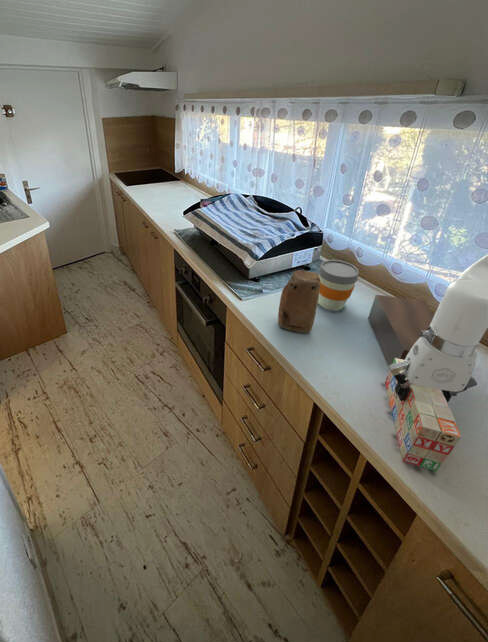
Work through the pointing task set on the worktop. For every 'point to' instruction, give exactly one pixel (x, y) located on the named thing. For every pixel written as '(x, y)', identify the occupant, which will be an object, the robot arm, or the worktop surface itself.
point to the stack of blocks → (422, 424)
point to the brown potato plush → (299, 301)
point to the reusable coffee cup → (336, 283)
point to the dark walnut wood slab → (398, 324)
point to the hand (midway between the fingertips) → (419, 398)
